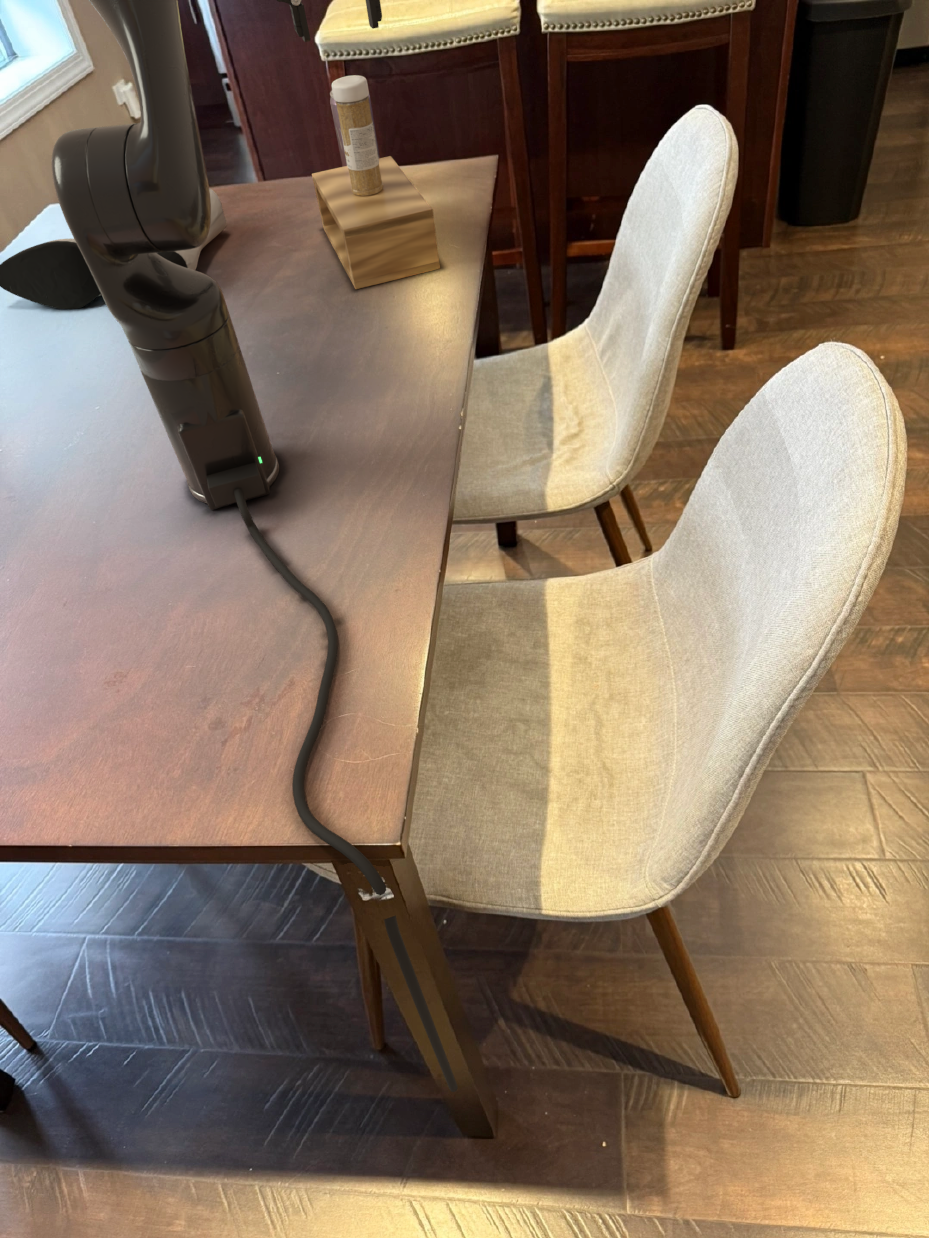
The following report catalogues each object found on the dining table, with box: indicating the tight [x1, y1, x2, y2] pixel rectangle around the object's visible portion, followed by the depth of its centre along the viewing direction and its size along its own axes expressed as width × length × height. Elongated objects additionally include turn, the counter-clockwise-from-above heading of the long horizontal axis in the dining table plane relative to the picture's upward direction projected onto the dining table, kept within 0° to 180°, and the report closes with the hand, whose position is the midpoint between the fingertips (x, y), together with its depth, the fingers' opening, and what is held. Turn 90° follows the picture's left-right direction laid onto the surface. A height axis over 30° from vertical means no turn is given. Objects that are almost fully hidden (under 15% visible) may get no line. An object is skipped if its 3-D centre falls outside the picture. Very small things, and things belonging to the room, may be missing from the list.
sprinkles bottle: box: [331, 74, 384, 196], centre depth 114 cm, size 5×5×14 cm
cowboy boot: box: [0, 187, 227, 311], centre depth 126 cm, size 10×28×25 cm
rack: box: [311, 155, 441, 290], centre depth 122 cm, size 22×12×8 cm, turn 18°
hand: (340, 33), depth 105 cm, fingers open, 8 cm apart
